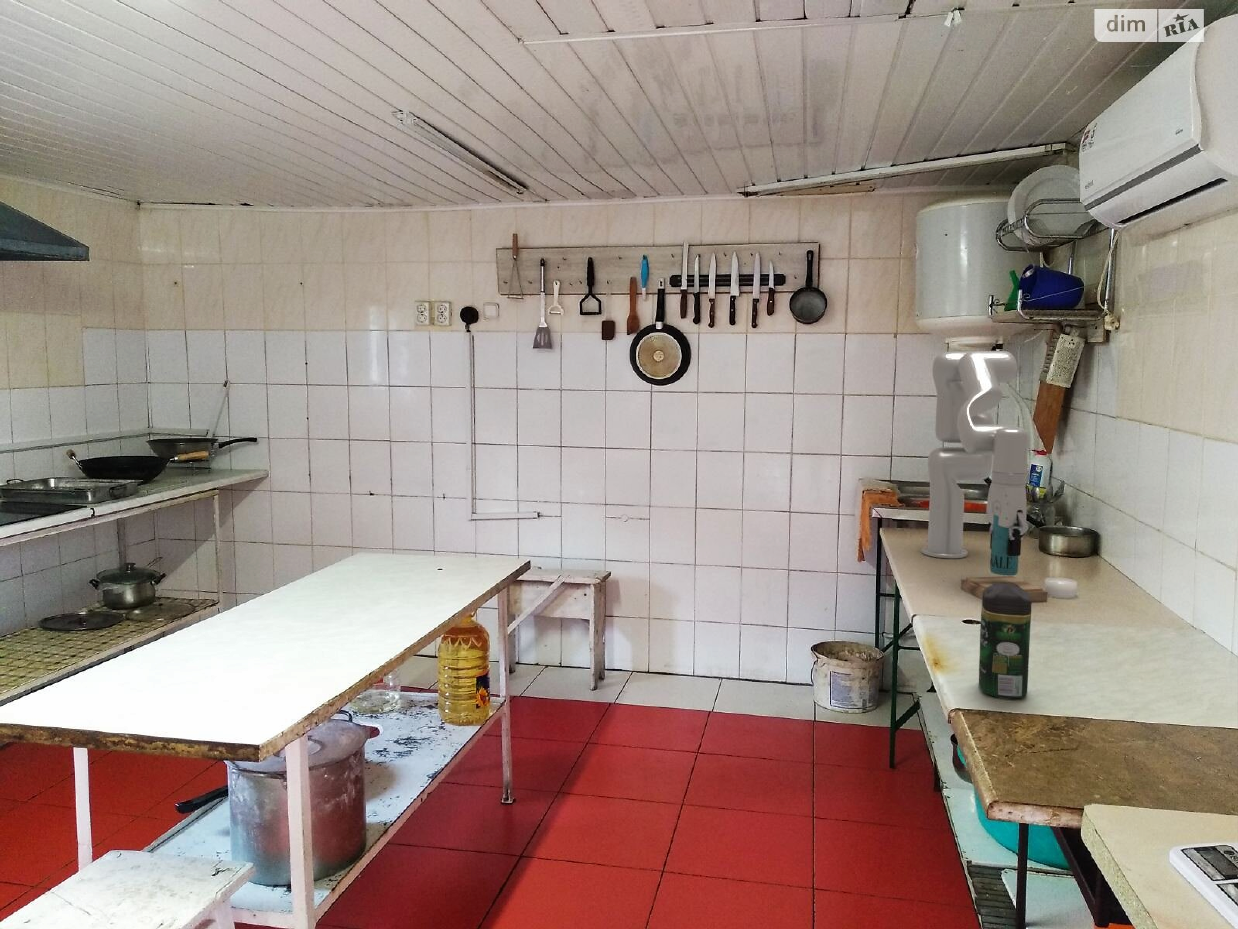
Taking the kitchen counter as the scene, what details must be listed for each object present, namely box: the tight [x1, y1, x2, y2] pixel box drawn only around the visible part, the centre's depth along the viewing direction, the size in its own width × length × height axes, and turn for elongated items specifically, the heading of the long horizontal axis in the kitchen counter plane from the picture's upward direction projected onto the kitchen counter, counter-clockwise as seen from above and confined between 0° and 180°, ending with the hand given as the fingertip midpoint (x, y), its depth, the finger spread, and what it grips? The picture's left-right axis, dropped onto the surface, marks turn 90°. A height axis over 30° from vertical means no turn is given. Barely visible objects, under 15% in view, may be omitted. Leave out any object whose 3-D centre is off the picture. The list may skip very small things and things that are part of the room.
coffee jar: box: [978, 583, 1033, 700], centre depth 153 cm, size 10×8×19 cm
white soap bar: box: [1044, 577, 1078, 600], centre depth 216 cm, size 7×7×4 cm
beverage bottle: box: [989, 515, 1019, 576], centre depth 214 cm, size 6×7×20 cm
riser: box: [960, 575, 1048, 603], centre depth 216 cm, size 14×14×3 cm
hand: (1004, 551), depth 215 cm, fingers closed on beverage bottle, 6 cm apart
